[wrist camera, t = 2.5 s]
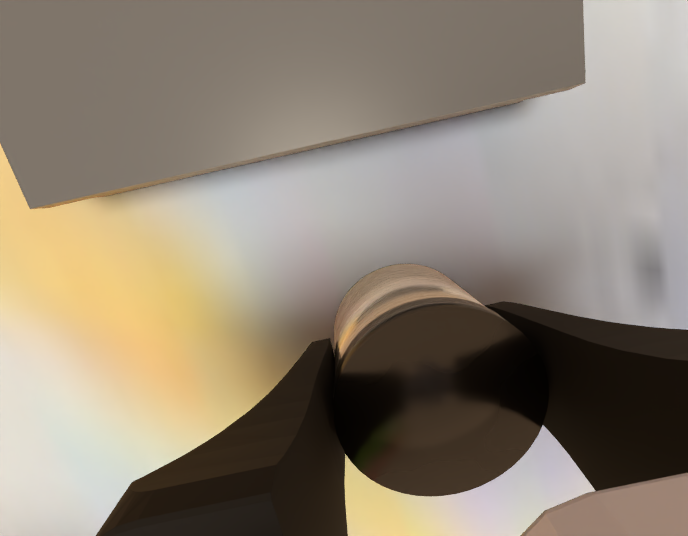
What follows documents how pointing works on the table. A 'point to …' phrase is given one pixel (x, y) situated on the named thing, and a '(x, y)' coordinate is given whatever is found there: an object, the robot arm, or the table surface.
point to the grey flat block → (253, 79)
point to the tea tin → (432, 384)
